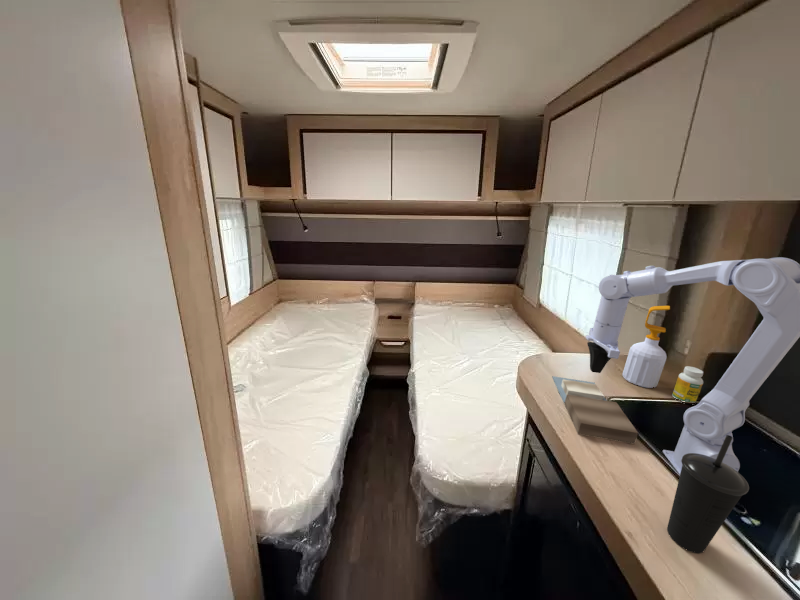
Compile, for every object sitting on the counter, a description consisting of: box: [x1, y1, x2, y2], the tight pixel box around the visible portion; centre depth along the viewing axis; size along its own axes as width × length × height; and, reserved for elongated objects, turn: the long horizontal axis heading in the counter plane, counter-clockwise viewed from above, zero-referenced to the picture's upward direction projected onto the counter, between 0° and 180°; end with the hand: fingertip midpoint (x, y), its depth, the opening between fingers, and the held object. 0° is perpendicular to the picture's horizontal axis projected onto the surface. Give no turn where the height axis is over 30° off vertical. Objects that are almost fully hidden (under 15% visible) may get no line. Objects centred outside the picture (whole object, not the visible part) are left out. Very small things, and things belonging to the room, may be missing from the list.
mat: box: [551, 375, 608, 404], centre depth 95 cm, size 14×12×1 cm
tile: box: [561, 379, 605, 400], centre depth 94 cm, size 6×9×2 cm, turn 79°
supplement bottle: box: [671, 365, 704, 403], centre depth 94 cm, size 5×5×10 cm
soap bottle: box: [622, 305, 671, 389], centre depth 101 cm, size 9×9×25 cm
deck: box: [564, 395, 639, 445], centre depth 82 cm, size 12×12×3 cm
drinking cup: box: [666, 435, 750, 554], centre depth 52 cm, size 8×8×20 cm
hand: (595, 371), depth 87 cm, fingers closed
